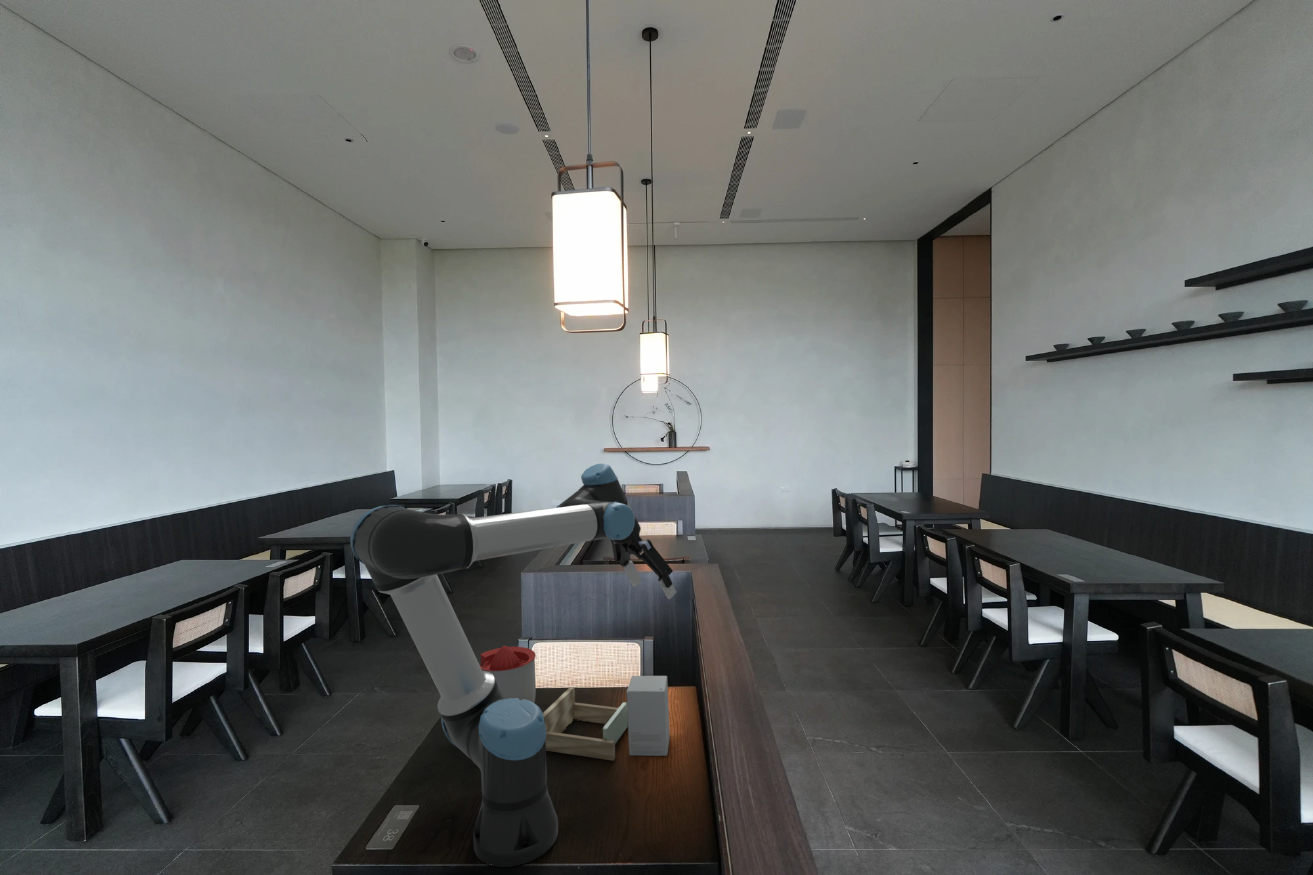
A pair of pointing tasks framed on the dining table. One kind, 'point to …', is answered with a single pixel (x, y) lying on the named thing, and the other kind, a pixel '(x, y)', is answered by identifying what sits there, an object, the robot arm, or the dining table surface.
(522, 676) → the citrus juicer
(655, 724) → the supplement box
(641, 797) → the dining table surface
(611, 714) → the pusher lane
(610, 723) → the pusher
